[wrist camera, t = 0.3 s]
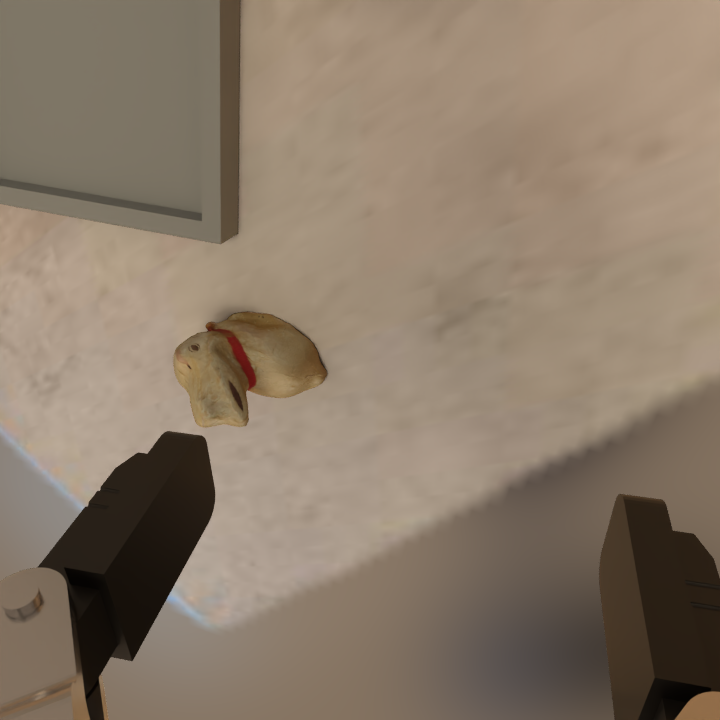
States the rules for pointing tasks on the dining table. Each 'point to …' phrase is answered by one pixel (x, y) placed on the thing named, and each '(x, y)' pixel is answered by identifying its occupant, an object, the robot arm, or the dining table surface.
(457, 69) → the dining table surface
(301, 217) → the dining table surface
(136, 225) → the serving tray
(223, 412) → the chocolate bunny
